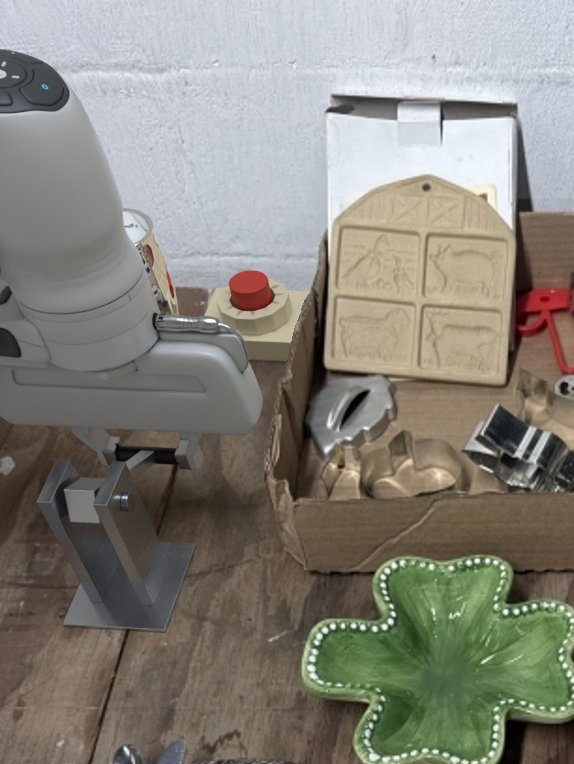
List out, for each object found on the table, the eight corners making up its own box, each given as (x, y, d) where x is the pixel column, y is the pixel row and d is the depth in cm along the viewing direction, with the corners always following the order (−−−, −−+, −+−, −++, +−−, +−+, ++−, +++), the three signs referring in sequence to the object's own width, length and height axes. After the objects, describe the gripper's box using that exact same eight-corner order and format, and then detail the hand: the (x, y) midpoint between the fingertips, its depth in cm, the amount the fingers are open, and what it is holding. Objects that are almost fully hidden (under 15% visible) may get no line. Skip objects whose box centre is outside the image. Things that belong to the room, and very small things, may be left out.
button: (229, 311, 99) (224, 292, 98) (239, 288, 101) (233, 269, 100) (267, 313, 99) (262, 293, 98) (276, 290, 101) (271, 270, 100)
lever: (126, 465, 87) (121, 436, 86) (186, 468, 87) (181, 439, 86) (51, 521, 76) (43, 488, 75) (119, 524, 76) (113, 491, 75)
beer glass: (190, 409, 97) (136, 257, 85) (117, 402, 98) (54, 250, 85) (215, 361, 101) (167, 209, 89) (145, 355, 102) (88, 203, 89)
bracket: (104, 548, 87) (47, 435, 78) (199, 553, 87) (155, 440, 77) (67, 634, 82) (2, 524, 73) (169, 639, 82) (117, 530, 72)
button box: (200, 358, 101) (188, 321, 98) (221, 307, 106) (210, 270, 103) (304, 362, 101) (295, 325, 98) (321, 311, 105) (313, 274, 102)
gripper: (248, 291, 76) (287, 442, 88) (-29, 280, 78) (46, 430, 89) (226, 347, 73) (270, 496, 84) (-64, 334, 74) (19, 483, 85)
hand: (153, 462), depth 87 cm, fingers closed on lever, 5 cm apart
